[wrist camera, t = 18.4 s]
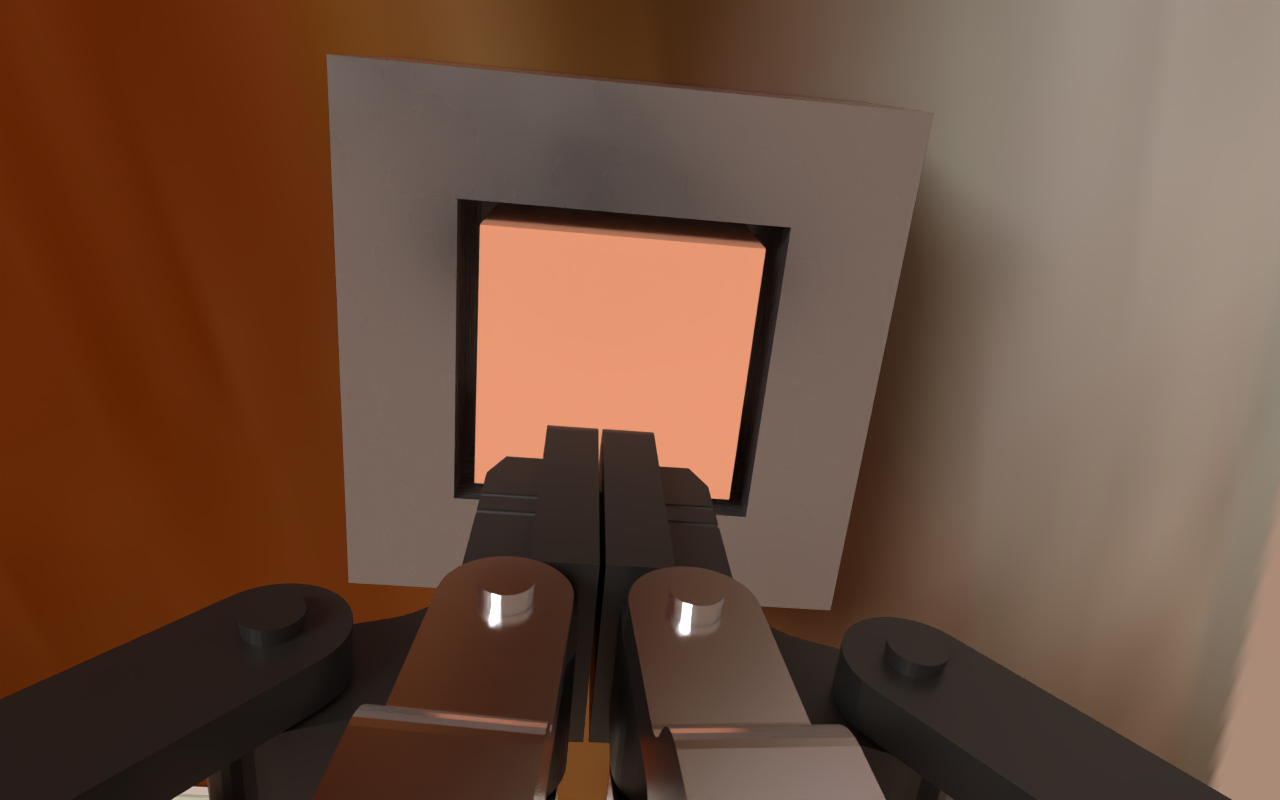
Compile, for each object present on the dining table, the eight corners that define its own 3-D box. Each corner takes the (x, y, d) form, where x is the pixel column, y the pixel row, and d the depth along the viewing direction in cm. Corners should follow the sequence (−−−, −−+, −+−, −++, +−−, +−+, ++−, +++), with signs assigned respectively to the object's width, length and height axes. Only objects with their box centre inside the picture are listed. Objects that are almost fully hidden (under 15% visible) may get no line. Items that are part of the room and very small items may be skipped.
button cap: (494, 422, 19) (474, 482, 16) (501, 198, 17) (479, 224, 15) (711, 437, 19) (729, 499, 17) (741, 219, 18) (766, 248, 15)
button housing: (394, 490, 21) (348, 582, 17) (387, 56, 17) (326, 54, 14) (792, 515, 22) (830, 610, 18) (866, 102, 18) (933, 112, 14)
